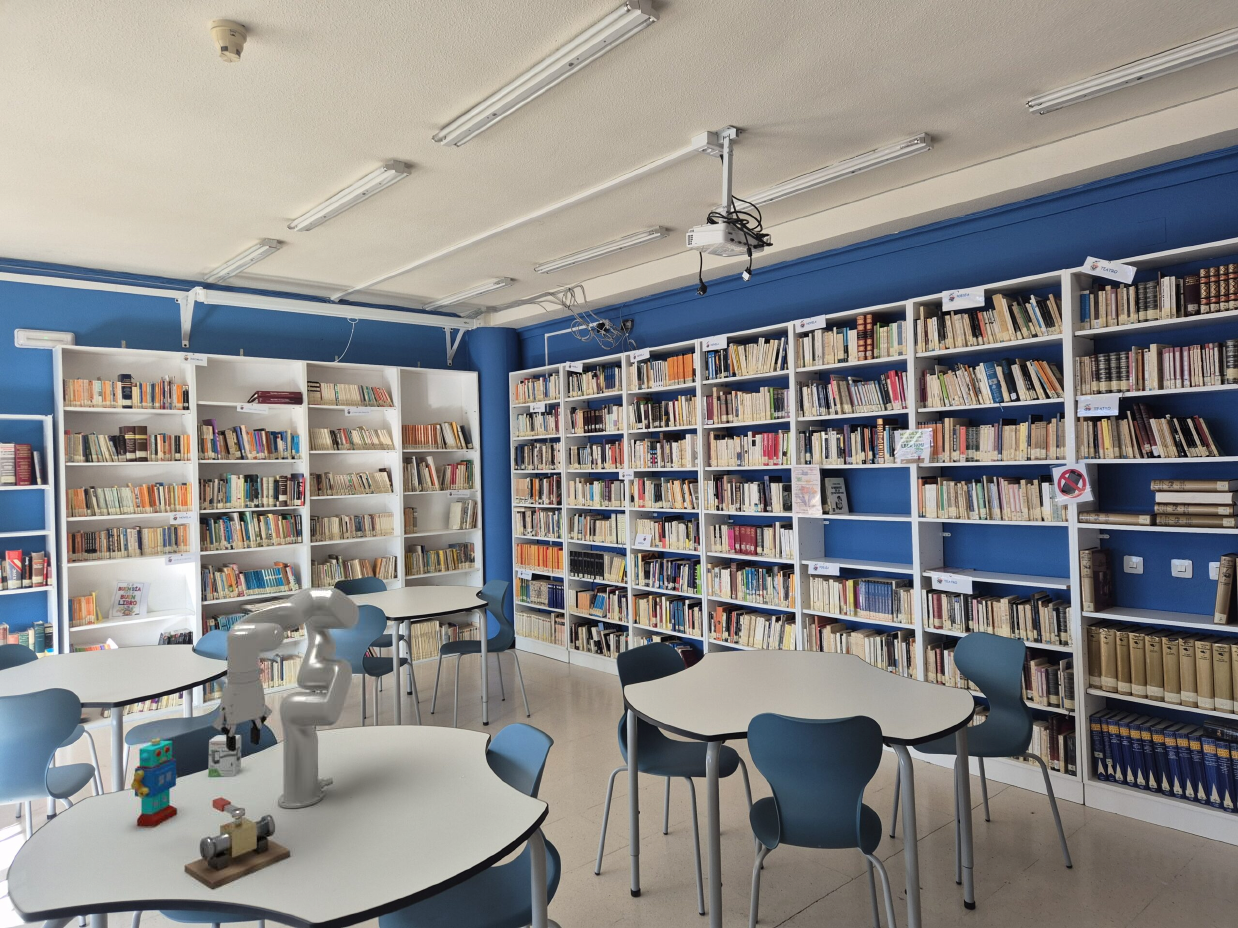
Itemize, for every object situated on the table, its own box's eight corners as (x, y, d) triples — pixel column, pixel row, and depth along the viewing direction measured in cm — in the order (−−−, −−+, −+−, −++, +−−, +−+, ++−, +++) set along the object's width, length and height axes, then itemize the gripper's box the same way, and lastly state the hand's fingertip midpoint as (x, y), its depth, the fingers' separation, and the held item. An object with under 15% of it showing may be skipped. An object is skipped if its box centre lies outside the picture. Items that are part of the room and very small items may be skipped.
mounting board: (261, 840, 198) (261, 835, 198) (290, 856, 189) (290, 850, 189) (184, 871, 183) (184, 864, 183) (212, 889, 174) (212, 882, 174)
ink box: (207, 777, 243) (207, 740, 243) (214, 771, 248) (215, 735, 248) (234, 776, 243) (234, 739, 243) (241, 770, 248) (241, 734, 248)
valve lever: (247, 815, 187) (247, 808, 187) (235, 820, 184) (235, 812, 184) (222, 803, 194) (222, 796, 194) (210, 807, 192) (210, 800, 192)
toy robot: (148, 829, 205) (149, 737, 206) (130, 828, 206) (130, 736, 207) (181, 811, 216) (181, 724, 217) (163, 810, 218) (163, 722, 218)
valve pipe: (263, 841, 194) (263, 802, 195) (276, 847, 191) (276, 807, 191) (198, 867, 181) (198, 825, 182) (210, 874, 178) (210, 831, 178)
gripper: (267, 668, 206) (267, 735, 205) (202, 681, 192) (202, 753, 192) (282, 672, 201) (282, 740, 201) (216, 686, 188) (216, 759, 187)
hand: (243, 746), depth 196 cm, fingers open, 5 cm apart
